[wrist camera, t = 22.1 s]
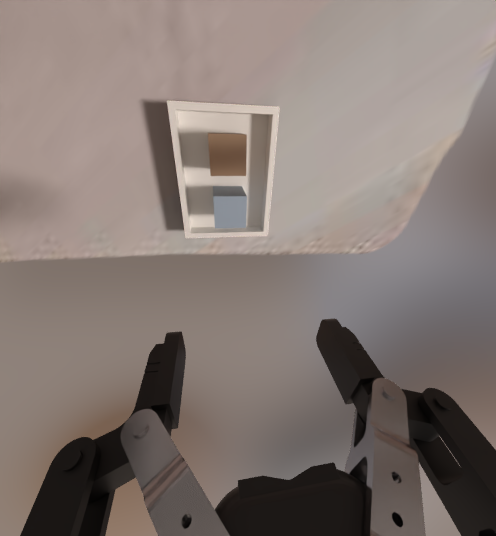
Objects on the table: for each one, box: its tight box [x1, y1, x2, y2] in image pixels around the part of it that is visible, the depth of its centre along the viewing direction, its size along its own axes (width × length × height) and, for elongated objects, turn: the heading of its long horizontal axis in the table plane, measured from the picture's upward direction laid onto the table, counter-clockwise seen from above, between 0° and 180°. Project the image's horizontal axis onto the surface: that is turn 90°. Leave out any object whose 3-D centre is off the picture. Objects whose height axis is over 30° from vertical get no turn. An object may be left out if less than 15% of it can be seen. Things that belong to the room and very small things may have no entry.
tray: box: [167, 101, 280, 238], centre depth 32 cm, size 14×18×4 cm
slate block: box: [213, 186, 247, 228], centre depth 32 cm, size 4×4×6 cm
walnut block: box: [208, 133, 247, 176], centre depth 28 cm, size 4×4×6 cm
